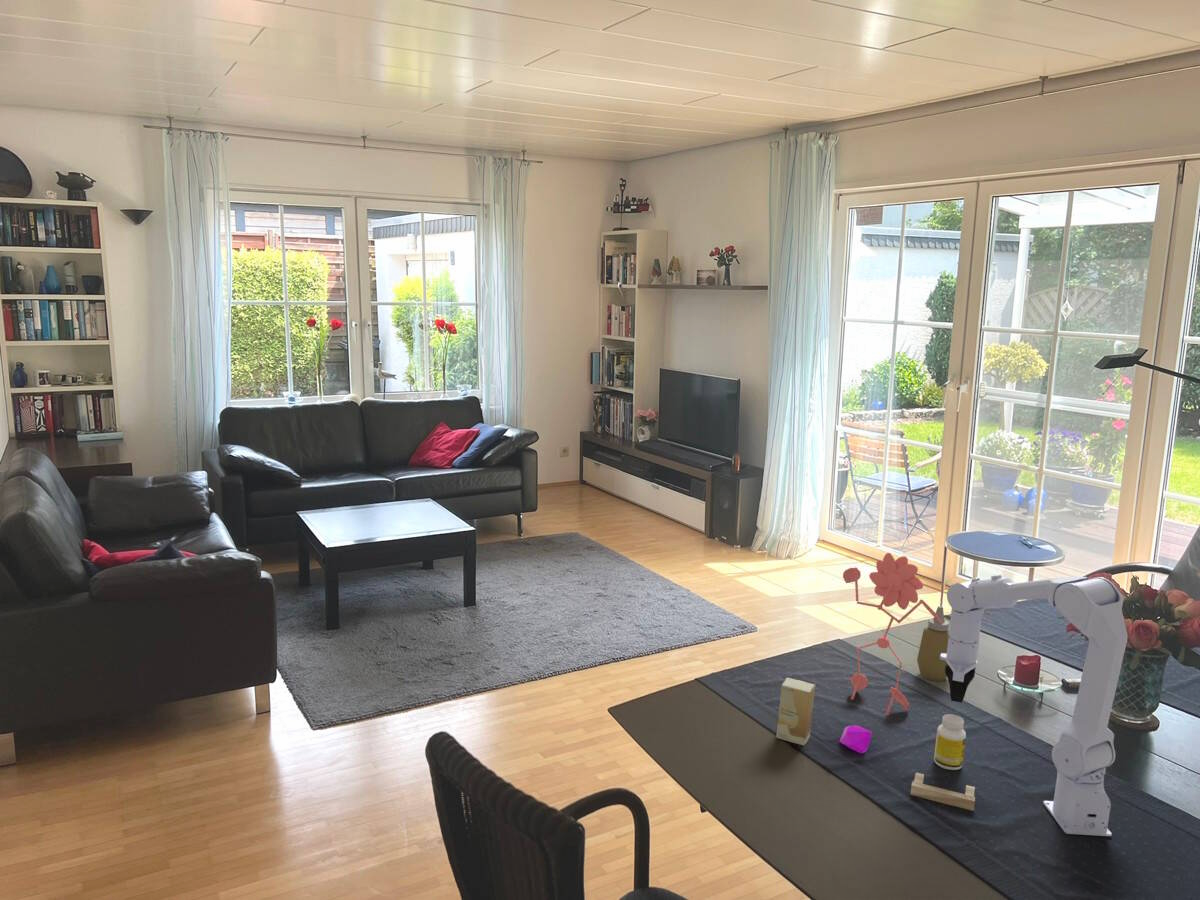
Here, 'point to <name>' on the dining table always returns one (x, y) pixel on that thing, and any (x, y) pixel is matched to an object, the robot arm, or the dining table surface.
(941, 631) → the squeeze bottle
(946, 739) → the supplement bottle
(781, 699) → the skincare box
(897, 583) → the figurine
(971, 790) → the u rest
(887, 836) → the dining table surface
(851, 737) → the crystal
